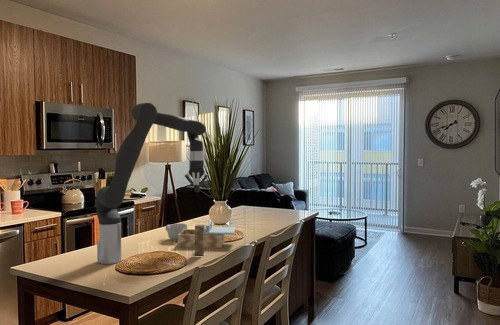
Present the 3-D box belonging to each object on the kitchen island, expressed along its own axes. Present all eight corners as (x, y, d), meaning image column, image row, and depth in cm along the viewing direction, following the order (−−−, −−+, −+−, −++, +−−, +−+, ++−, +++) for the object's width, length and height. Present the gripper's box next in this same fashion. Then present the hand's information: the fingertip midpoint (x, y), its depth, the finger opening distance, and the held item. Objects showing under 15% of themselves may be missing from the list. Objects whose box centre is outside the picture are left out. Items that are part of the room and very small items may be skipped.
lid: (203, 234, 187) (203, 226, 187) (207, 228, 199) (207, 221, 199) (233, 234, 186) (233, 226, 186) (235, 229, 199) (235, 221, 198)
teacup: (191, 239, 206) (191, 225, 206) (175, 243, 198) (175, 228, 198) (176, 235, 216) (176, 221, 216) (160, 238, 208) (160, 224, 208)
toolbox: (178, 248, 187) (177, 234, 187) (183, 242, 200) (183, 229, 200) (221, 249, 186) (221, 235, 186) (224, 242, 199) (224, 229, 199)
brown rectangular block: (194, 255, 174) (194, 226, 174) (196, 253, 178) (196, 224, 178) (203, 256, 174) (203, 226, 174) (204, 253, 178) (204, 224, 178)
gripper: (209, 159, 202) (210, 191, 203) (185, 159, 203) (186, 191, 204) (207, 159, 195) (207, 192, 196) (182, 159, 196) (182, 192, 196)
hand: (196, 192), depth 200 cm, fingers closed
